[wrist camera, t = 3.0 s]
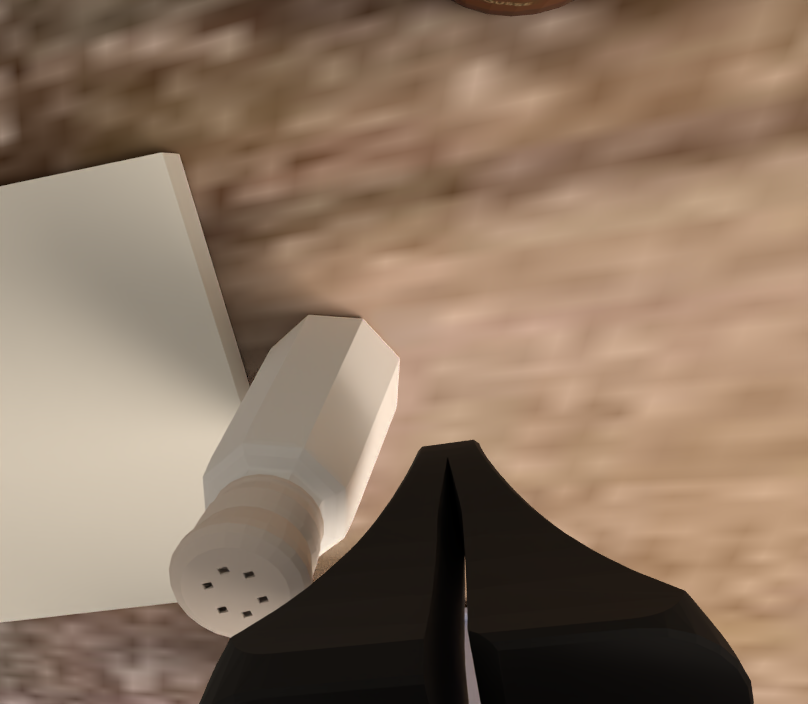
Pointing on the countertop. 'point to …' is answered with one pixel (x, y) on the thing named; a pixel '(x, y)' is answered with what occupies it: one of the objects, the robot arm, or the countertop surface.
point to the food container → (512, 6)
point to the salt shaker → (287, 472)
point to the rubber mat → (106, 385)
